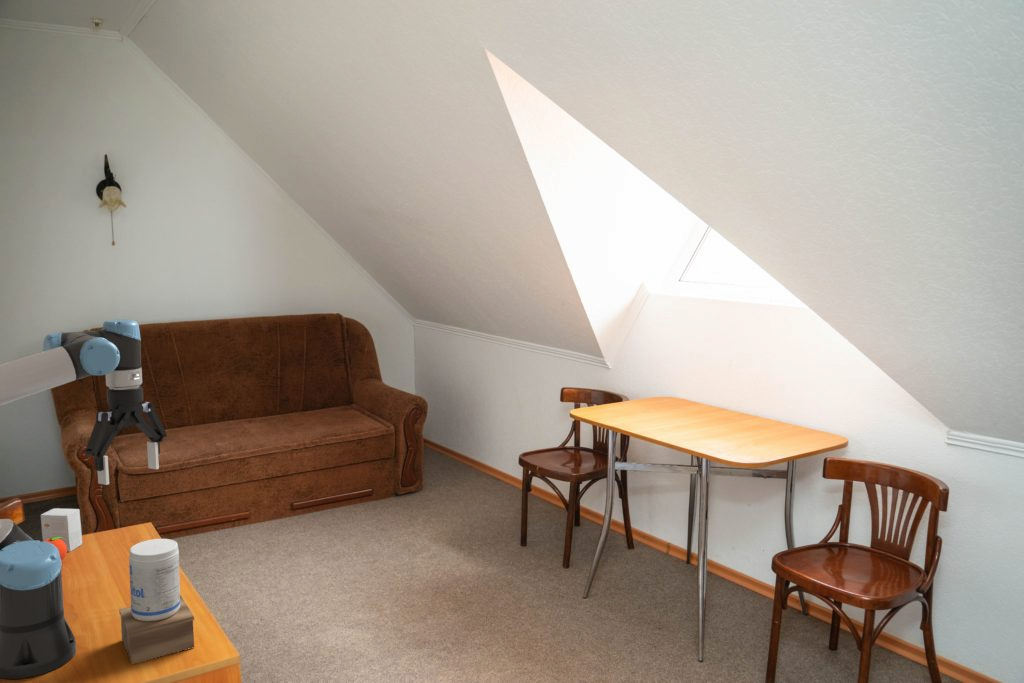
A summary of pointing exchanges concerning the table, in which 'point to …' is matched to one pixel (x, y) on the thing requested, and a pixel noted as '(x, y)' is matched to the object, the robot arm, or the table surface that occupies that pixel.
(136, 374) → the robot arm
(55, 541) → the clementine
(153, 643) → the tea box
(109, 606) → the table surface
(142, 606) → the supplement tub
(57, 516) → the small box
